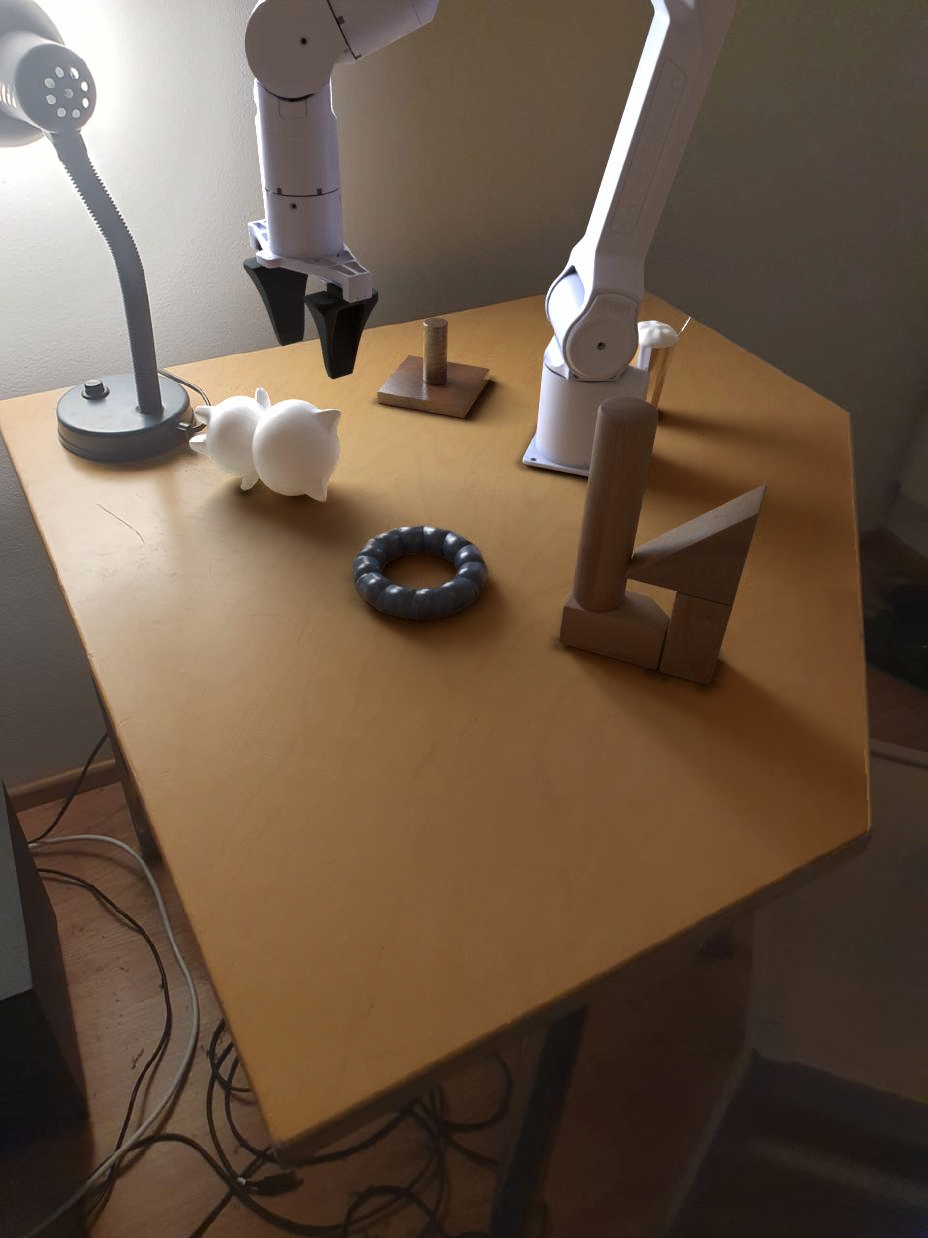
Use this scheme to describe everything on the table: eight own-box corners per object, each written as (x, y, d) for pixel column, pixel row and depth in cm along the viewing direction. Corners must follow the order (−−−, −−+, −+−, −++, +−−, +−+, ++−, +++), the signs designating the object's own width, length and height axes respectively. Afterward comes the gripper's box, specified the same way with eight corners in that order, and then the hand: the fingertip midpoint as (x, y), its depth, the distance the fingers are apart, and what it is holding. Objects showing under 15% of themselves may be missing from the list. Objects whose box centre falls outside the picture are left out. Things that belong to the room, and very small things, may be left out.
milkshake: (674, 425, 89) (694, 326, 83) (619, 423, 89) (635, 324, 83) (667, 403, 93) (686, 306, 86) (614, 401, 93) (629, 304, 86)
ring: (500, 558, 72) (502, 535, 70) (462, 638, 65) (463, 614, 63) (382, 532, 74) (381, 510, 73) (332, 607, 67) (330, 584, 65)
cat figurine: (191, 371, 74) (322, 396, 70) (260, 390, 84) (377, 413, 80) (175, 478, 75) (303, 508, 72) (244, 484, 85) (359, 511, 82)
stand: (489, 379, 95) (493, 312, 91) (463, 418, 89) (466, 348, 84) (408, 365, 97) (408, 298, 92) (377, 402, 91) (375, 333, 86)
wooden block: (708, 688, 62) (777, 455, 50) (556, 645, 64) (588, 415, 53) (717, 654, 64) (785, 425, 53) (571, 614, 67) (604, 388, 55)
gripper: (205, 169, 70) (229, 339, 79) (308, 221, 61) (322, 404, 70) (285, 156, 73) (299, 320, 82) (393, 203, 65) (395, 380, 74)
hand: (315, 358), depth 76 cm, fingers open, 7 cm apart
